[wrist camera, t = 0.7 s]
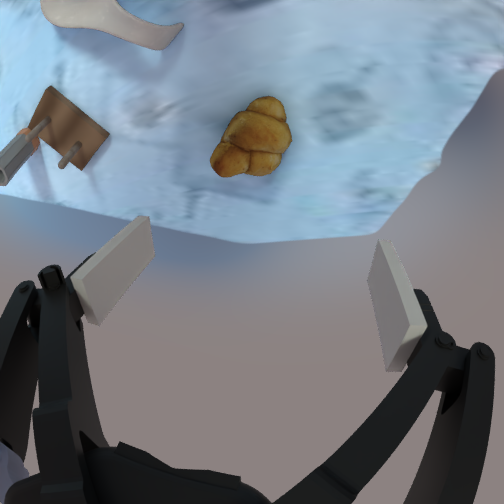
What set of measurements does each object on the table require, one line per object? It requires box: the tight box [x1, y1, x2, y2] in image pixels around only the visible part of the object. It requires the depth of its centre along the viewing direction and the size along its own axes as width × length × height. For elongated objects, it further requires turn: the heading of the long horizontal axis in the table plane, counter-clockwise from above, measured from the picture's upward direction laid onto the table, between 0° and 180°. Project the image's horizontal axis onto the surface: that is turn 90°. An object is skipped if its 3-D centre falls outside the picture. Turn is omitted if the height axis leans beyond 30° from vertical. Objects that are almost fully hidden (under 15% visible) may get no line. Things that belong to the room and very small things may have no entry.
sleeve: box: [0, 128, 40, 186], centre depth 36 cm, size 5×5×11 cm
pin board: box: [25, 86, 109, 171], centre depth 36 cm, size 15×10×8 cm, turn 38°
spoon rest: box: [40, 0, 184, 50], centre depth 21 cm, size 24×12×7 cm, turn 48°
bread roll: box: [210, 96, 292, 177], centre depth 38 cm, size 13×10×8 cm
